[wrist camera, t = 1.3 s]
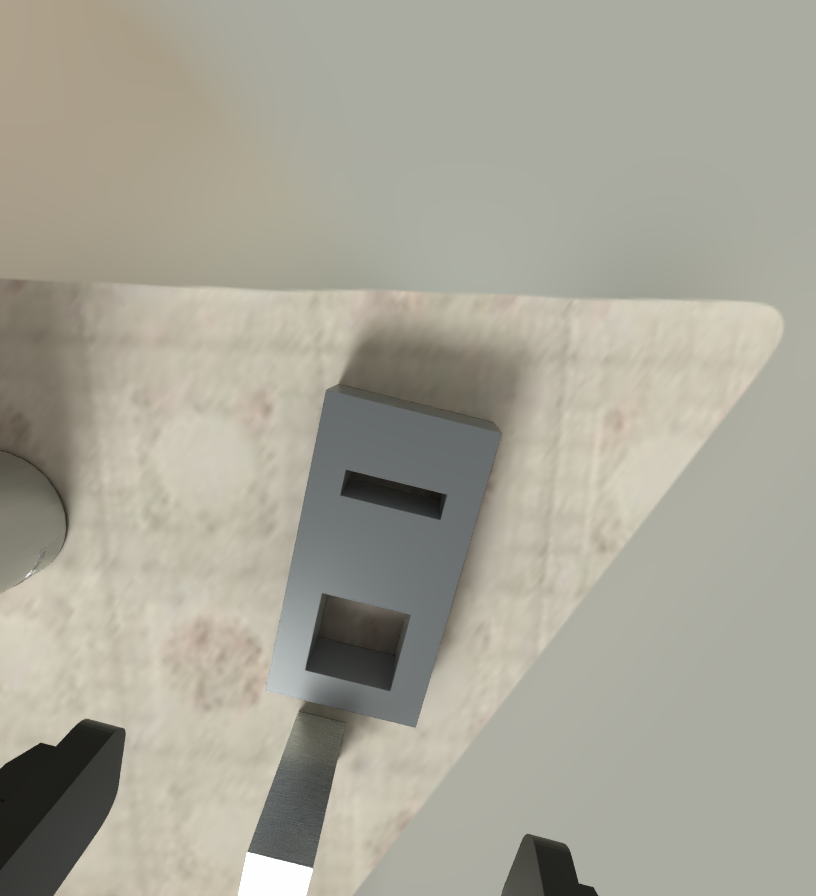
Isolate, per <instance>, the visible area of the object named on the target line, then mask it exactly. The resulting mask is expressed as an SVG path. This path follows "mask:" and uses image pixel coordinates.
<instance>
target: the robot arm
mask: <svg viewBox="0 0 816 896" xmlns="http://www.w3.org/2000/svg"><path fill="white" fill-rule="evenodd" d="M65 533H66V520H65V513H64V510H63V506H62V503H61V500H60V498H59V496H58V494H57V492H56V490H55V489H54V487H53V486H52V485H51V483H50V482H49V481H48V479H47V478H46V477H45V476H44V475H43V474H42V473H41V472H40V471H39V470H37V469H36V468H35V467H34V466H33V465H31V464H30V463H28V462H26V461H25V460H23V459H22V458H19V457H17V456H14V455H12V454H10V453H7V452H2V451H0V594H1V593H3V592H5V591H6V590H8V589H10V588H12V587H14V586H16V585H18V584H20V583H21V582H23V581H24V580H26V579H28V578H29V577H30V576H32V575H34V574H35V573H37V572H39V571H40V570H42V569H44V568H45V567H46V566H47V565H49V564H50V563H51V562H52V561H53V560H54V559H55V558H56V556H57V555H58V554H59V552H60V550H61V548H62V545H63V543H64V539H65ZM125 734H126V733H125V729H124V728H120V727H116V726H113V725H109V724H105V723H101V722H98V721H94V720H90V719H84V720H82V721H81V722H79V723H78V724H77V725H76V726H75V727H74V728H73V729H72V730H71V731H70V732H69V733H68V734H67V735H66V736H65V737H64V738H63V740H62V741H61V742H60V743H59V744H58V745H57V746H56V747H55V746H52V745H48V744H44V743H40V744H38V745H36V746H35V747H33V748H31V749H30V750H28V751H26V752H25V753H23V754H21V755H20V756H18V757H16V758H15V759H13V760H11V761H10V762H8V763H6V764H5V765H4V766H3V767H2V768H1V769H0V896H53V895H54V894H55V893H56V891H57V890H58V888H59V887H60V885H61V884H62V882H63V881H64V880H65V878H66V877H67V875H68V874H69V872H70V871H71V870H72V868H73V867H74V865H75V864H76V862H77V861H78V859H79V858H80V857H81V855H82V854H83V852H84V851H85V849H86V848H87V846H88V845H89V844H90V842H91V841H92V839H93V838H94V836H95V835H96V833H97V832H98V831H99V829H100V828H101V826H102V824H103V823H104V821H105V819H106V817H107V816H108V814H109V812H110V810H111V807H112V805H113V803H114V800H115V797H116V794H117V791H118V786H119V779H120V771H121V764H122V757H123V750H124V743H125ZM501 896H598V895H597V893H596V891H595V889H594V888H593V887H590V886H586V885H582V884H579V883H578V879H577V875H576V871H575V867H574V864H573V860H572V856H571V853H570V850H569V848H568V847H567V845H566V844H564V843H560V842H557V841H553V840H550V839H546V838H542V837H538V836H534V835H531V834H526V835H525V836H524V837H523V839H522V842H521V844H520V847H519V850H518V852H517V855H516V857H515V860H514V862H513V865H512V867H511V870H510V872H509V875H508V877H507V880H506V882H505V885H504V888H503V891H502V895H501Z"/></svg>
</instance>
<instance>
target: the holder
mask: <svg viewBox="0 0 816 896" xmlns="http://www.w3.org/2000/svg"><path fill="white" fill-rule="evenodd" d="M501 434H502V433H501V432H500V430H499V429H498V427H497V426H496V425H495V423H493V422H489V421H485V420H481V419H477V418H473V417H469V416H465V415H461V414H457V413H453V412H449V411H445V410H441V409H437V408H433V407H429V406H425V405H421V404H417V403H413V402H408V401H404V400H400V399H396V398H392V397H388V396H384V395H380V394H376V393H372V392H368V391H364V390H360V389H356V388H352V387H348V386H344V385H340V384H338V385H335V386H333V387H331V388H329V389H327V390H326V393H325V398H324V403H323V408H322V413H321V418H320V423H319V428H318V433H317V438H316V443H315V448H314V453H313V458H312V463H311V468H310V473H309V478H308V483H307V488H306V492H305V497H304V502H303V507H302V512H301V517H300V522H299V527H298V532H297V537H296V542H295V547H294V552H293V557H292V562H291V567H290V572H289V577H288V582H287V587H286V592H285V597H284V602H283V607H282V612H281V617H280V621H279V626H278V631H277V636H276V641H275V646H274V651H273V656H272V661H271V666H270V671H269V676H268V681H267V686H266V691H268V692H272V693H276V694H280V695H284V696H288V697H293V698H297V699H301V700H305V701H309V702H313V703H317V704H321V705H325V706H329V707H333V708H337V709H342V710H346V711H350V712H354V713H358V714H362V715H366V716H370V717H374V718H378V719H382V720H386V721H390V722H395V723H399V724H403V725H407V726H411V727H415V728H416V725H417V721H418V718H419V715H420V711H421V708H422V704H423V701H424V698H425V694H426V691H427V687H428V684H429V680H430V677H431V674H432V670H433V667H434V663H435V660H436V656H437V653H438V650H439V646H440V643H441V639H442V636H443V633H444V629H445V626H446V622H447V619H448V615H449V612H450V609H451V605H452V602H453V598H454V595H455V592H456V588H457V585H458V581H459V578H460V574H461V571H462V568H463V564H464V561H465V557H466V554H467V550H468V547H469V544H470V540H471V537H472V533H473V530H474V527H475V523H476V520H477V516H478V513H479V509H480V506H481V503H482V499H483V496H484V492H485V489H486V485H487V482H488V479H489V475H490V472H491V468H492V465H493V462H494V458H495V455H496V451H497V448H498V444H499V441H500V438H501ZM352 471H353V472H357V473H362V474H366V475H370V476H374V477H378V478H382V479H386V480H390V481H394V482H398V483H402V484H406V485H410V486H414V487H418V488H422V489H426V490H430V491H434V492H438V493H442V494H441V497H440V500H435V499H431V498H427V497H423V496H419V495H415V494H411V493H407V492H403V491H399V490H395V489H391V488H387V487H383V486H379V485H375V484H371V483H367V482H363V481H359V480H354V479H350V477H351V473H352ZM327 594H328V595H332V596H336V597H340V598H344V599H348V600H352V601H356V602H360V603H364V604H368V605H372V606H376V607H381V608H385V609H389V610H393V611H397V612H401V613H405V614H406V616H405V619H404V623H403V627H402V631H401V634H400V638H399V642H398V645H397V649H396V653H395V656H393V655H388V654H384V653H380V652H376V651H372V650H368V649H364V648H360V647H356V646H352V645H348V644H344V643H340V642H336V641H331V640H327V639H323V638H319V637H318V634H319V630H320V625H321V621H322V616H323V612H324V607H325V603H326V598H327Z"/></svg>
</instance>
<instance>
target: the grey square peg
mask: <svg viewBox="0 0 816 896" xmlns="http://www.w3.org/2000/svg"><path fill="white" fill-rule="evenodd" d="M345 724H346V723H343V722H339V721H335V720H331V719H327V718H323V717H319V716H315V715H311V714H307V713H303V712H299V711H298V714H297V717H296V720H295V722H294V725H293V728H292V731H291V733H290V736H289V739H288V742H287V744H286V747H285V750H284V753H283V755H282V758H281V761H280V764H279V766H278V769H277V772H276V775H275V778H274V780H273V783H272V786H271V789H270V791H269V794H268V797H267V800H266V802H265V805H264V808H263V811H262V813H261V816H260V819H259V822H258V824H257V827H256V830H255V833H254V835H253V838H252V841H251V844H250V847H249V849H248V852H247V856H246V861H245V866H244V871H243V875H242V880H241V885H240V890H239V894H238V896H306V893H307V889H308V885H309V881H310V877H311V873H312V869H313V865H314V861H315V856H316V852H317V847H318V843H319V839H320V834H321V830H322V825H323V821H324V817H325V812H326V808H327V803H328V799H329V795H330V790H331V786H332V781H333V777H334V773H335V768H336V764H337V759H338V755H339V751H340V746H341V742H342V738H343V733H344V729H345Z"/></svg>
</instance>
